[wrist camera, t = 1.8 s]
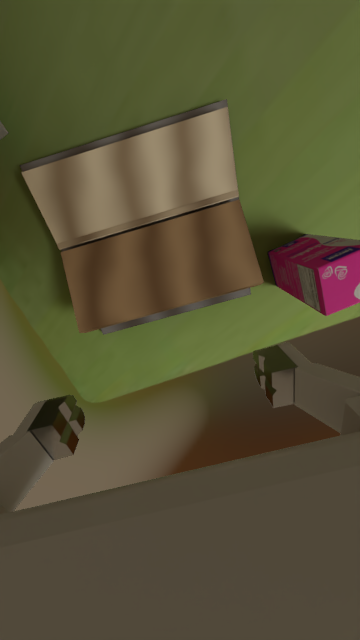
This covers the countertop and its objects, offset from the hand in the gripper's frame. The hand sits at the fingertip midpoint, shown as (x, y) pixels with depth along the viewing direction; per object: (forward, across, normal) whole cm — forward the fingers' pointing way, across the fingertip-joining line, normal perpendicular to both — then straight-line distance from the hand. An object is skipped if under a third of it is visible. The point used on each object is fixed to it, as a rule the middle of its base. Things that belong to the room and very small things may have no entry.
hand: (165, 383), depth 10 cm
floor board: (+23, 0, -4) cm, 23 cm away
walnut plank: (+19, 0, -1) cm, 19 cm away
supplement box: (+23, -18, +3) cm, 30 cm away
